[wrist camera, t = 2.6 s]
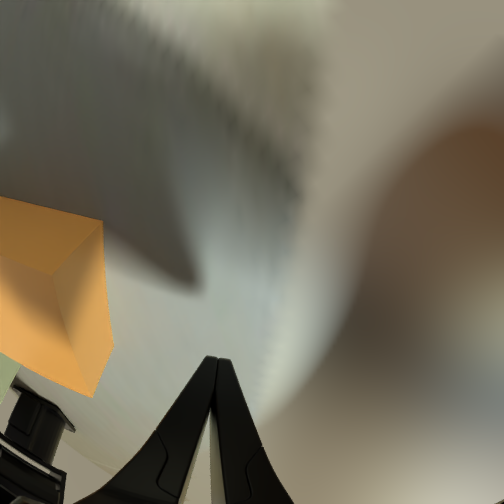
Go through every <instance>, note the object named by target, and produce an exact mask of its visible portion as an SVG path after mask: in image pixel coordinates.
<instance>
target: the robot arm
mask: <svg viewBox="0 0 504 504" xmlns="http://www.w3.org/2000/svg"><path fill="white" fill-rule="evenodd" d="M12 388H13V390H14V391H15V392H16V393H17V394H18V396H19V398H18V400H17V403H16V405H15V407H14V409H13V411H12V413H11V416H10V418H9V420H8V425H7V428H6V431H5V433H4V435H3V434H2V433H1V432H0V439H1V440H2V441H3V442H5V443H6V444H8V445H9V446H10V447H12V448H13V449H15V450H16V451H18V452H19V453H21V454H22V455H24V456H26V457H27V458H29V459H30V460H32V461H33V462H35V463H37V464H38V465H40V466H42V467H44V468H46V469H47V470H49V471H50V474H47V473H46V472H44V471H42V470H40V469H38V468H37V467H35V466H33V465H32V464H30V463H28V462H27V461H25V460H24V459H22V458H21V457H19V456H17V455H16V454H14V453H13V452H12V451H10V450H9V449H7V448H6V447H4V446H3V445H1V444H0V504H63V500H64V490H65V482H66V475H67V473H66V472H64V471H62V470H59V469H57V468H55V467H53V466H51V465H52V462H53V459H54V456H55V453H56V450H57V447H58V444H59V441H60V438H61V436H62V433H63V430H64V429H67V430H69V431H71V432H73V433H75V431H76V429H75V428H74V427H73V426H72V425H71V424H70V422H69V421H68V420H67V419H66V418H65V416H64V415H63V414H62V413H61V411H60V410H59V409H58V408H57V407H55V406H53V405H51V404H49V403H47V402H45V401H43V400H41V399H39V398H37V397H35V396H33V395H31V394H30V393H28V392H26V391H24V390H22V389H21V388H19V387H17V386H16V385H13V387H12ZM209 412H210V469H211V470H210V472H211V500H212V504H294V502H293V501H292V499H291V498H290V496H289V495H288V493H287V492H286V490H285V489H284V487H283V485H282V484H281V482H280V480H279V479H278V477H277V475H276V473H275V472H274V470H273V468H272V466H271V464H270V461H269V459H268V457H267V455H266V452H265V450H264V447H262V443H261V440H260V438H259V435H258V432H257V430H256V427H255V425H254V422H253V419H252V417H251V414H250V411H249V409H248V406H247V403H246V401H245V398H244V395H243V393H242V390H241V387H240V384H239V381H238V379H237V376H236V373H235V370H234V367H233V364H232V362H231V360H230V359H225V358H219V359H218V358H217V357H214V356H206V357H205V358H204V359H203V361H202V362H201V364H200V365H199V367H198V368H197V370H196V371H195V373H194V374H193V376H192V377H191V379H190V380H189V381H188V383H187V384H186V386H185V387H184V389H183V390H182V392H181V393H180V395H179V396H178V397H177V399H176V400H175V402H174V403H173V405H172V406H171V408H170V409H169V410H168V412H167V413H166V415H165V416H164V418H163V419H162V420H161V422H160V423H159V425H158V426H157V427H156V430H154V432H153V433H152V434H151V436H150V437H149V439H148V440H147V441H146V442H145V444H144V445H143V446H142V448H141V449H140V450H139V451H138V452H137V453H136V454H135V455H134V457H133V458H132V459H131V460H130V461H129V462H128V463H127V464H126V465H125V466H124V467H123V468H122V469H121V470H120V471H119V472H118V473H117V474H116V475H115V476H114V477H113V478H112V479H111V480H109V481H108V482H107V483H106V484H105V485H104V486H102V487H101V488H100V489H98V490H97V491H95V492H94V493H92V494H90V495H88V496H87V497H85V498H83V499H81V500H79V501H77V502H76V503H73V504H183V503H184V499H185V496H186V492H187V489H188V486H189V482H190V479H191V475H192V472H193V469H194V465H195V462H196V458H197V455H198V451H199V448H200V444H201V441H202V437H203V434H204V431H205V427H206V424H207V420H208V416H209ZM496 504H504V500H502V501H500V502H498V503H496Z"/></svg>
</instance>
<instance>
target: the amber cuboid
mask: <svg viewBox="0 0 504 504" xmlns="http://www.w3.org/2000/svg"><path fill="white" fill-rule="evenodd" d="M113 347H114V343H113V336H112V330H111V323H110V316H109V308H108V299H107V289H106V278H105V263H104V241H103V221H101V220H97V219H93V218H88V217H84V216H80V215H76V214H72V213H68V212H64V211H59V210H55V209H51V208H47V207H43V206H39V205H35V204H31V203H27V202H23V201H19V200H14V199H10V198H6V197H2V196H0V352H1V353H3V354H5V355H6V356H8V357H9V358H11V359H13V360H14V361H16V362H18V363H20V364H21V365H23V366H25V367H27V368H29V369H30V370H32V371H34V372H36V373H38V374H40V375H42V376H44V377H46V378H48V379H50V380H52V381H54V382H56V383H58V384H60V385H62V386H64V387H67V388H69V389H71V390H73V391H76V392H78V393H81V394H83V395H85V396H88V397H90V398H92V397H93V395H94V392H95V390H96V387H97V385H98V382H99V380H100V377H101V375H102V373H103V370H104V368H105V365H106V363H107V361H108V359H109V356H110V354H111V352H112V350H113Z"/></svg>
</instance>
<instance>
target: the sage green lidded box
mask: <svg viewBox="0 0 504 504" xmlns="http://www.w3.org/2000/svg"><path fill="white" fill-rule="evenodd" d="M20 366H21V364H20V363H18V362H16V361H14V360H13V359H11V358H9V357H8V356H6V355H5V354H3V353H1V352H0V404H1V403H2V401H3V398H4V396H5V394H6V393H7V391H8V389H9V387H10V385H11V383H12V381H13V379H14V377H15V375H16V373H17V372H18V370H19V368H20Z"/></svg>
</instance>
